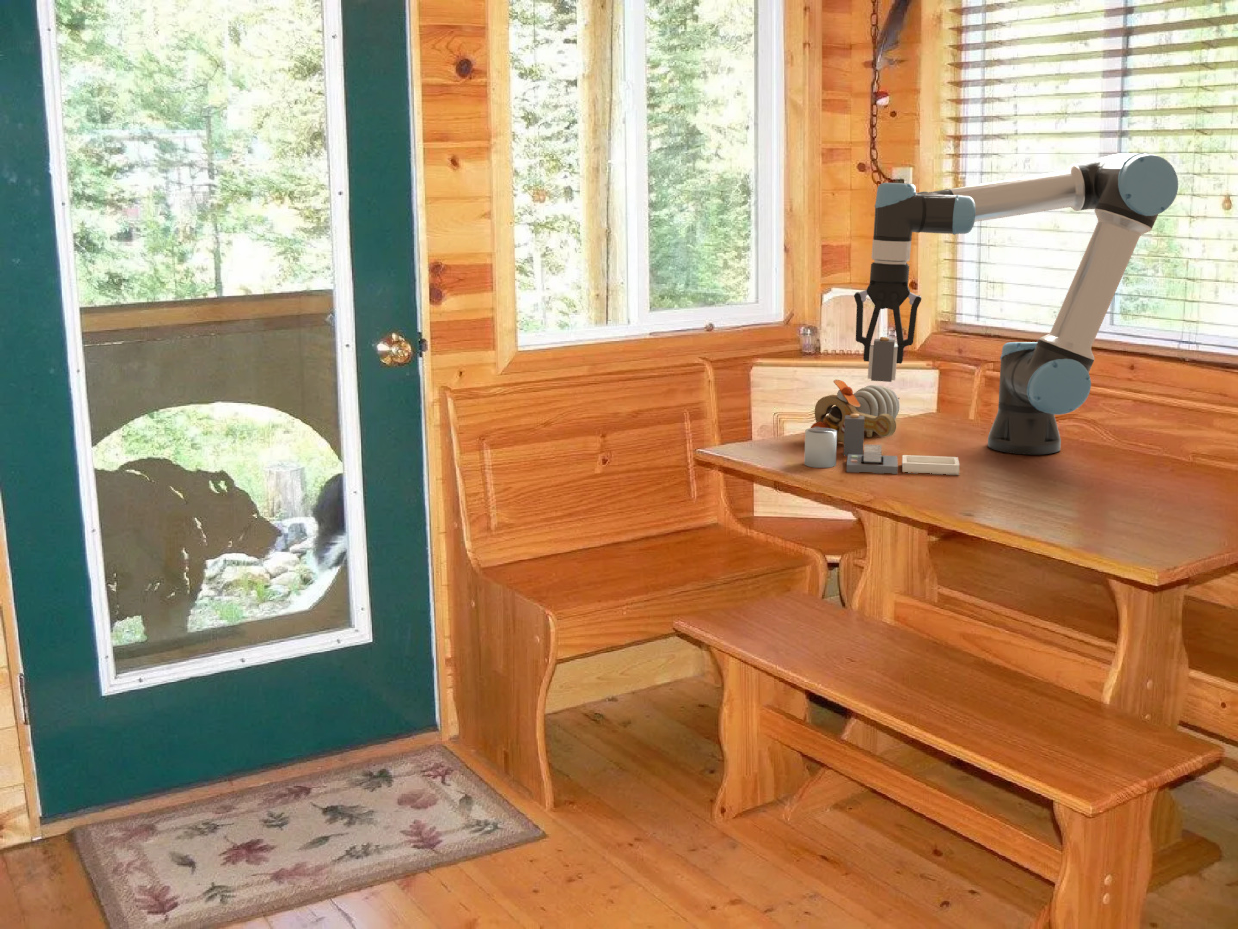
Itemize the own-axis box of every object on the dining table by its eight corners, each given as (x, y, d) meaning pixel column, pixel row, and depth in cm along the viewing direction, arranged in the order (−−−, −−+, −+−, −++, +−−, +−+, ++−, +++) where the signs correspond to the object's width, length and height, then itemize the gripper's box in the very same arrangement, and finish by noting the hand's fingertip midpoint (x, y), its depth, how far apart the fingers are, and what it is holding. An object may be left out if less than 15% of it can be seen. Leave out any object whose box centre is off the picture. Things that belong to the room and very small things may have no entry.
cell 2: (891, 378, 287) (895, 336, 285) (891, 381, 283) (894, 339, 281) (872, 377, 288) (875, 335, 286) (871, 380, 284) (874, 338, 282)
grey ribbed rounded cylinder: (912, 432, 322) (914, 383, 319) (868, 442, 310) (870, 392, 308) (873, 425, 329) (875, 378, 327) (829, 435, 317) (831, 387, 315)
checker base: (897, 463, 290) (897, 454, 290) (897, 474, 281) (897, 465, 280) (847, 461, 292) (848, 452, 292) (846, 472, 282) (846, 463, 282)
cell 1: (863, 452, 300) (864, 413, 298) (862, 456, 296) (864, 416, 294) (844, 452, 301) (845, 412, 299) (843, 456, 297) (844, 415, 295)
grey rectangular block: (881, 454, 289) (881, 444, 288) (880, 461, 282) (881, 452, 282) (864, 453, 289) (864, 444, 289) (863, 461, 283) (864, 451, 282)
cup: (836, 461, 292) (837, 427, 290) (835, 468, 285) (836, 434, 284) (805, 460, 293) (806, 426, 291) (803, 467, 287) (804, 432, 285)
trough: (957, 466, 287) (957, 457, 286) (959, 475, 280) (959, 465, 279) (902, 464, 289) (902, 455, 288) (902, 472, 282) (902, 463, 281)
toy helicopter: (827, 436, 317) (829, 376, 314) (904, 451, 302) (907, 387, 299) (804, 441, 311) (806, 380, 308) (881, 456, 296) (884, 392, 293)
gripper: (934, 262, 282) (924, 378, 287) (848, 258, 286) (840, 372, 291) (934, 265, 275) (924, 384, 280) (845, 261, 279) (837, 378, 284)
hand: (881, 378), depth 286 cm, fingers closed on cell 2, 4 cm apart
